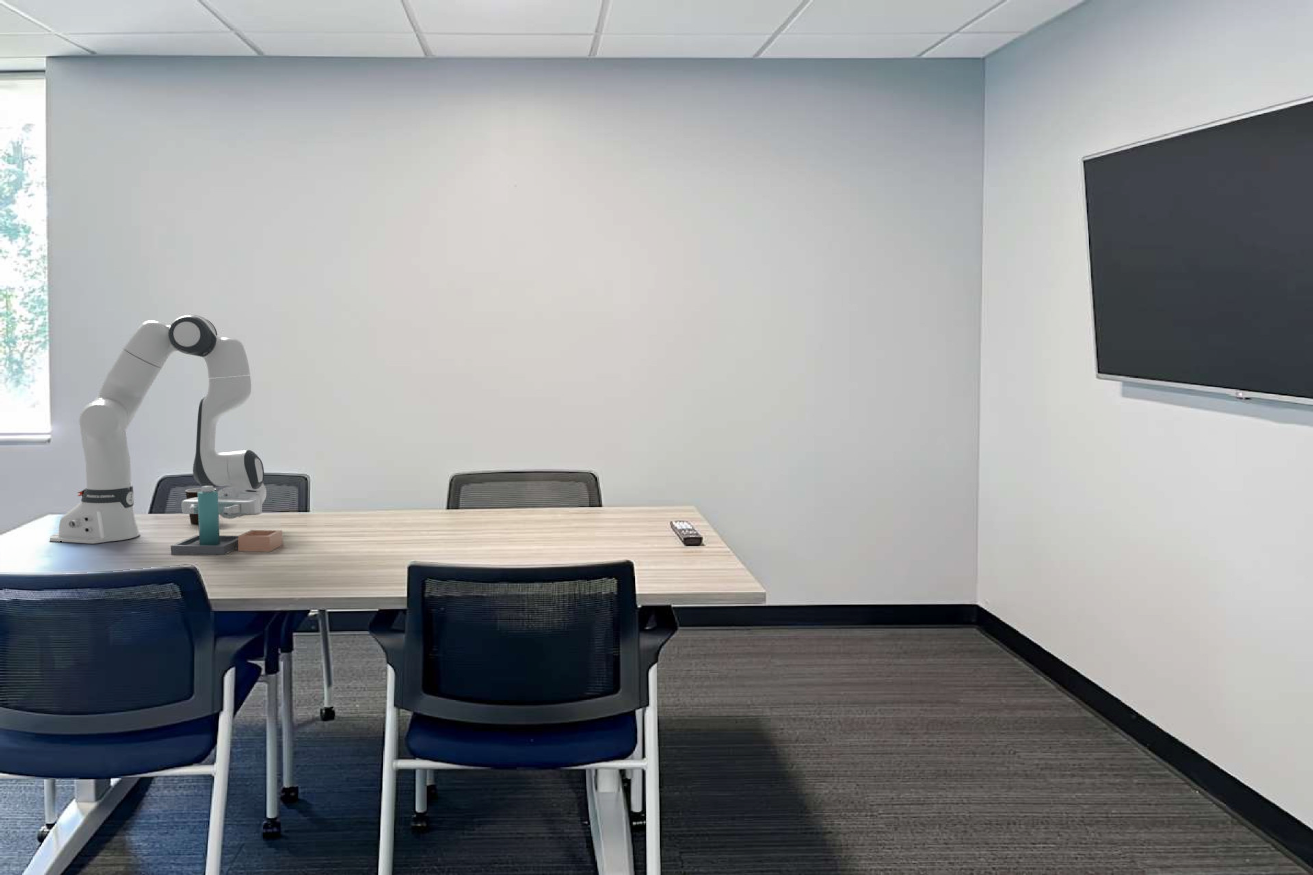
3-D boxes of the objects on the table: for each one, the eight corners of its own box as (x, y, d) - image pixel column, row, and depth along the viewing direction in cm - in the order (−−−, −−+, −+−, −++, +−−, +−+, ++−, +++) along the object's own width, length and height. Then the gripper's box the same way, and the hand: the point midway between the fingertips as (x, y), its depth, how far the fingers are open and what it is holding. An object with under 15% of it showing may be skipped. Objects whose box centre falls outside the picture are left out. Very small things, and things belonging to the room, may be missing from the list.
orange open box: (238, 550, 280) (237, 536, 279) (251, 544, 288) (251, 529, 288) (270, 551, 280) (269, 536, 279) (282, 544, 288) (282, 530, 288)
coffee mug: (206, 525, 314) (205, 492, 313) (180, 524, 316) (179, 491, 315) (229, 518, 326) (228, 486, 325) (204, 517, 327) (203, 485, 326)
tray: (171, 553, 276) (170, 545, 275) (196, 542, 290) (196, 535, 289) (223, 554, 275) (223, 546, 275) (246, 543, 289) (246, 535, 289)
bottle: (196, 546, 280) (193, 487, 278) (204, 542, 285) (202, 485, 283) (214, 546, 280) (212, 488, 278) (223, 542, 285) (220, 485, 283)
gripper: (194, 490, 295) (170, 498, 282) (266, 491, 295) (245, 499, 281) (195, 512, 296) (171, 521, 282) (267, 513, 295) (246, 522, 282)
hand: (208, 510), depth 282 cm, fingers open, 8 cm apart
